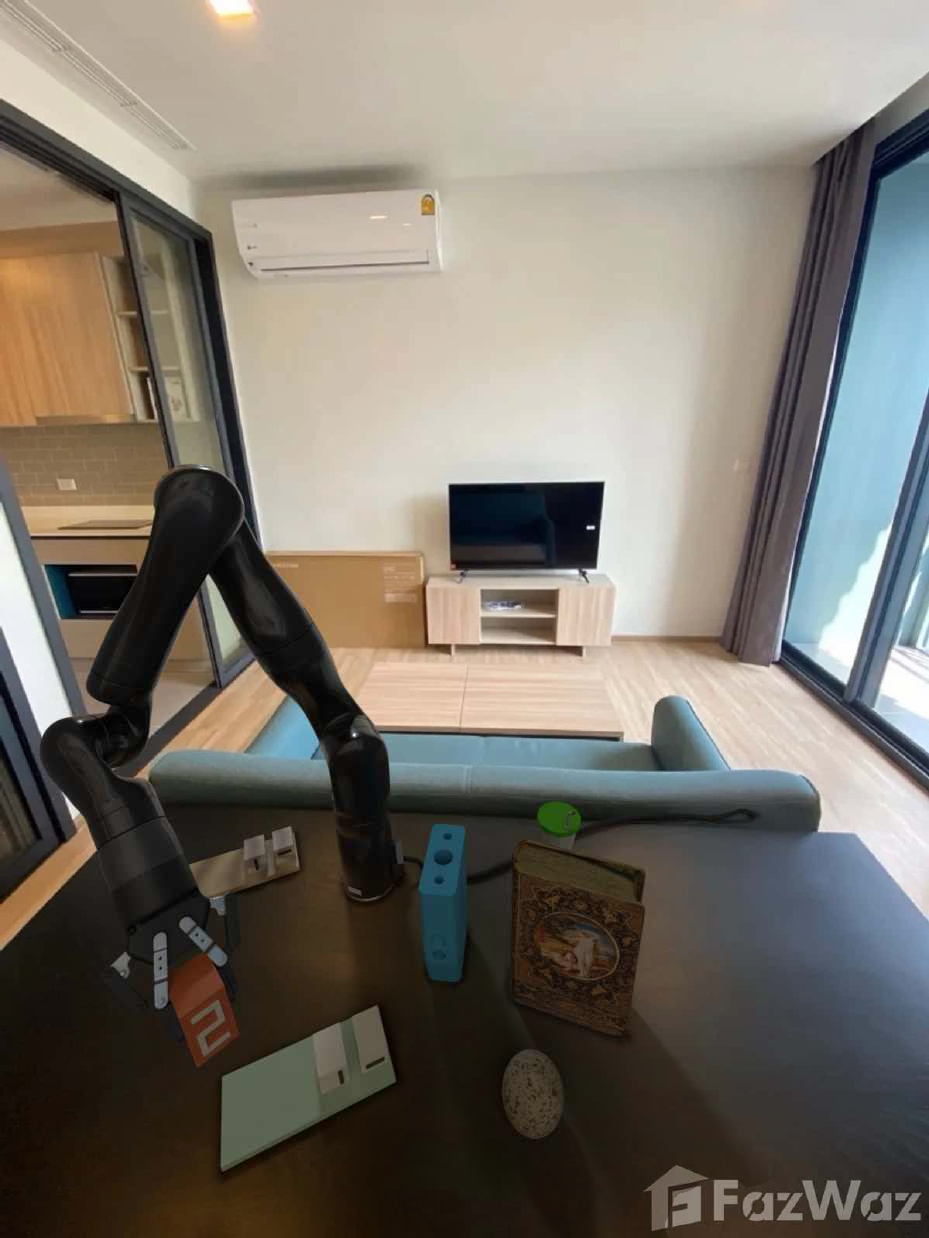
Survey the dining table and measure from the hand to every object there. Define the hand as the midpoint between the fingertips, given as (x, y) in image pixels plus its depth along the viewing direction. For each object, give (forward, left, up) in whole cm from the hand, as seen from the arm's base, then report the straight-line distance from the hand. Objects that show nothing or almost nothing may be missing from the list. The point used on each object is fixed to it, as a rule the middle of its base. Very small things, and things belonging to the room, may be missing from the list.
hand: (207, 1018), depth 53 cm
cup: (-55, -16, -18) cm, 60 cm away
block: (-30, -8, -18) cm, 36 cm away
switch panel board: (-8, 0, -18) cm, 20 cm away
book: (-43, +5, -18) cm, 47 cm away
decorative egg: (-32, +14, -18) cm, 40 cm away
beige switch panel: (-1, -38, -18) cm, 42 cm away
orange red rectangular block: (+1, -2, -5) cm, 5 cm away
